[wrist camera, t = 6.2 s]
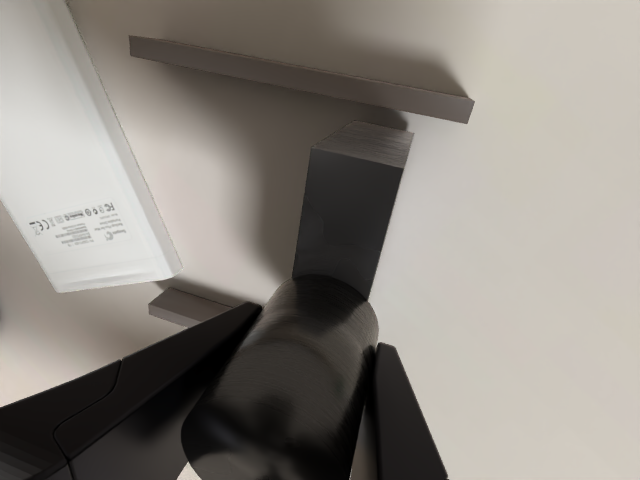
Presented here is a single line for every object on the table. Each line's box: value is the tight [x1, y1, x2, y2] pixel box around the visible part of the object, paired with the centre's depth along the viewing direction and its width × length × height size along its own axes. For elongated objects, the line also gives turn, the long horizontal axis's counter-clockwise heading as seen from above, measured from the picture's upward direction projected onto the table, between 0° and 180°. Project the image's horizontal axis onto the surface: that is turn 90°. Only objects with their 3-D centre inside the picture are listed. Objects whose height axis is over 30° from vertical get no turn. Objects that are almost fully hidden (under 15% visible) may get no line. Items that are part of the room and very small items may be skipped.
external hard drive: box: [0, 0, 184, 293], centre depth 16 cm, size 2×8×12 cm
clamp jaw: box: [181, 120, 414, 480], centre depth 10 cm, size 9×3×9 cm, turn 171°
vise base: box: [129, 36, 475, 328], centre depth 15 cm, size 12×26×3 cm, turn 81°
